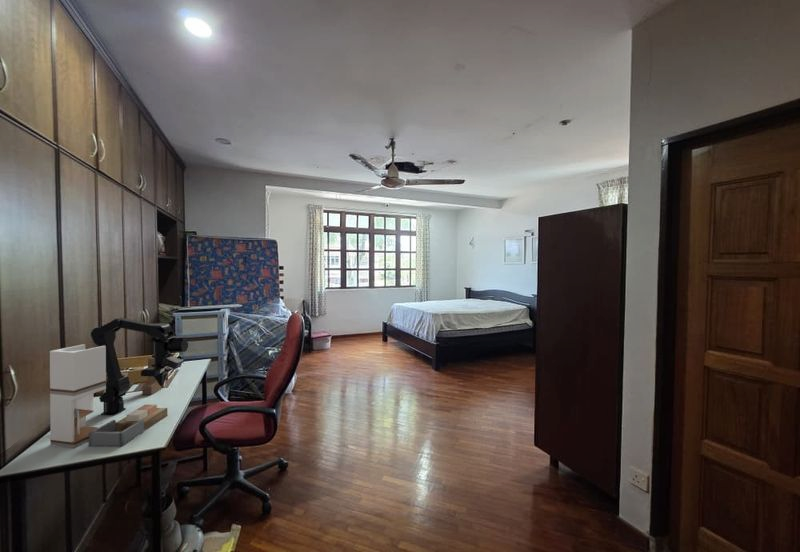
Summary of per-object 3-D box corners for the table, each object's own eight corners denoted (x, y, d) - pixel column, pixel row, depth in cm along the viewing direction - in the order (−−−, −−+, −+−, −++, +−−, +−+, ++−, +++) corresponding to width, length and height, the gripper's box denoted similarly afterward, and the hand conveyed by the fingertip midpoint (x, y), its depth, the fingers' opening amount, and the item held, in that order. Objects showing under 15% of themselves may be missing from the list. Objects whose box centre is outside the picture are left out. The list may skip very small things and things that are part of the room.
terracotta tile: (136, 415, 144) (136, 409, 144) (145, 410, 149) (145, 404, 149) (148, 415, 144) (148, 409, 144) (156, 410, 149) (156, 404, 149)
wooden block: (151, 395, 176) (151, 360, 175) (142, 395, 175) (141, 360, 175) (161, 389, 185) (161, 355, 184) (152, 389, 184) (152, 356, 184)
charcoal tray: (88, 446, 126) (88, 433, 125) (113, 432, 137) (113, 419, 136) (121, 446, 126) (121, 433, 126) (143, 432, 137) (143, 419, 137)
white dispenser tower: (74, 448, 124) (73, 352, 123) (50, 445, 126) (49, 351, 125) (106, 433, 136) (105, 345, 135) (84, 430, 137) (83, 344, 137)
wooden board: (114, 431, 137) (114, 423, 137) (142, 415, 152) (142, 407, 152) (142, 431, 137) (142, 423, 137) (167, 415, 152) (167, 407, 152)
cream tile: (126, 420, 139) (126, 414, 139) (135, 415, 144) (135, 409, 144) (138, 421, 139) (138, 414, 139) (147, 415, 144) (147, 409, 144)
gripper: (166, 357, 147) (166, 393, 147) (191, 347, 165) (191, 379, 166) (139, 357, 146) (139, 393, 147) (168, 347, 165) (168, 379, 165)
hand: (161, 385), depth 156 cm, fingers closed
